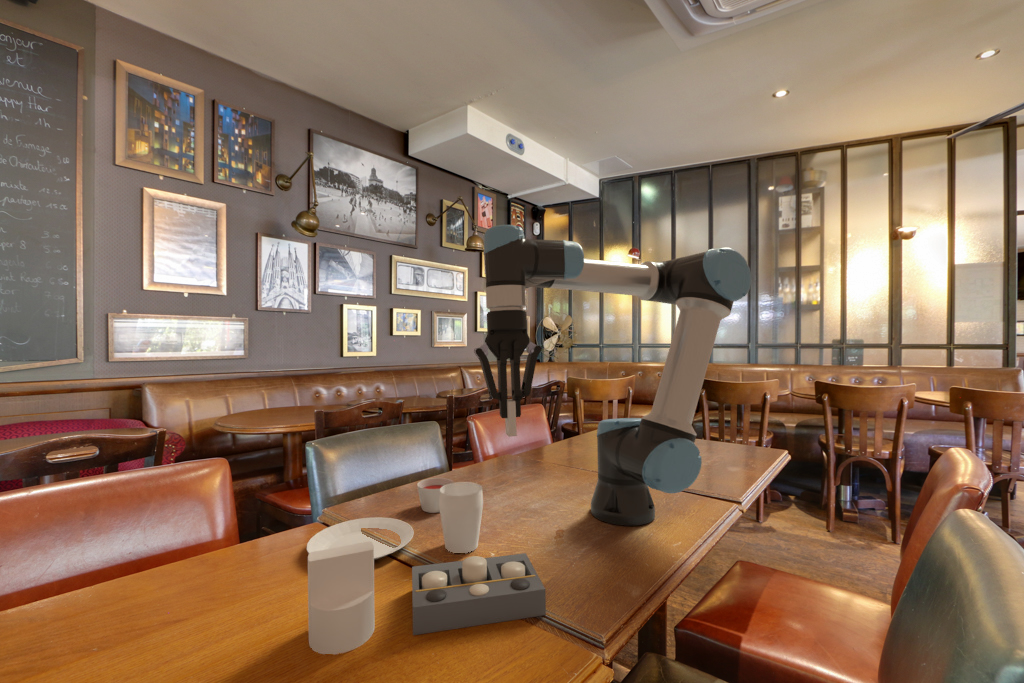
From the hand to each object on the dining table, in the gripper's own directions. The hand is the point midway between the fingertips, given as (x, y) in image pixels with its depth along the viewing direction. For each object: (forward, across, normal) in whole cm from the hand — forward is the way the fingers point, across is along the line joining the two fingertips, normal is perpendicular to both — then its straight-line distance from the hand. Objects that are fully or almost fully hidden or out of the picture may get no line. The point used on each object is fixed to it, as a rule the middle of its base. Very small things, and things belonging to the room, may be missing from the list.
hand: (511, 434), depth 85 cm
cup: (+25, +9, -10) cm, 28 cm away
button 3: (+24, +16, +9) cm, 30 cm away
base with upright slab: (+24, +30, +13) cm, 40 cm away
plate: (+24, +29, -15) cm, 41 cm away
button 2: (+22, +9, +9) cm, 26 cm away
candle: (+25, +13, -33) cm, 43 cm away
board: (+24, +9, +10) cm, 28 cm away
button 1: (+24, +3, +10) cm, 26 cm away
